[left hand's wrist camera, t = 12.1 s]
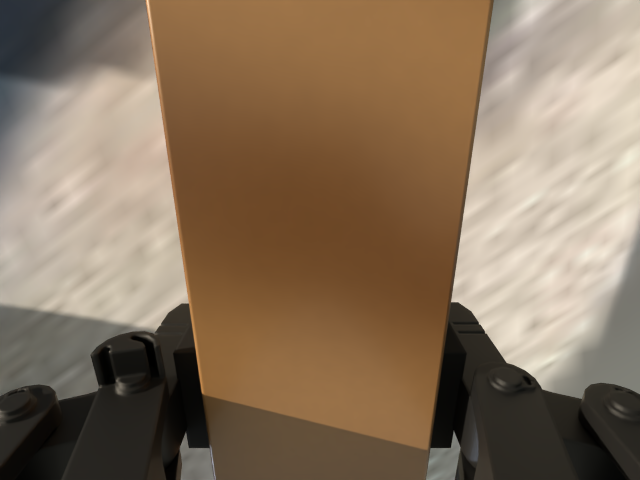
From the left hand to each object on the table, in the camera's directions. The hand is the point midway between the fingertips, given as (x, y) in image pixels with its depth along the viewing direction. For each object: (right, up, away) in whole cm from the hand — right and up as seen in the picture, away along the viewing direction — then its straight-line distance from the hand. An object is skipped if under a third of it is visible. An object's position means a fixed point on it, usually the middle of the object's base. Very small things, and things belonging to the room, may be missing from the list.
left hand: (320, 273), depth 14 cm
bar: (0, +30, -11) cm, 32 cm away
